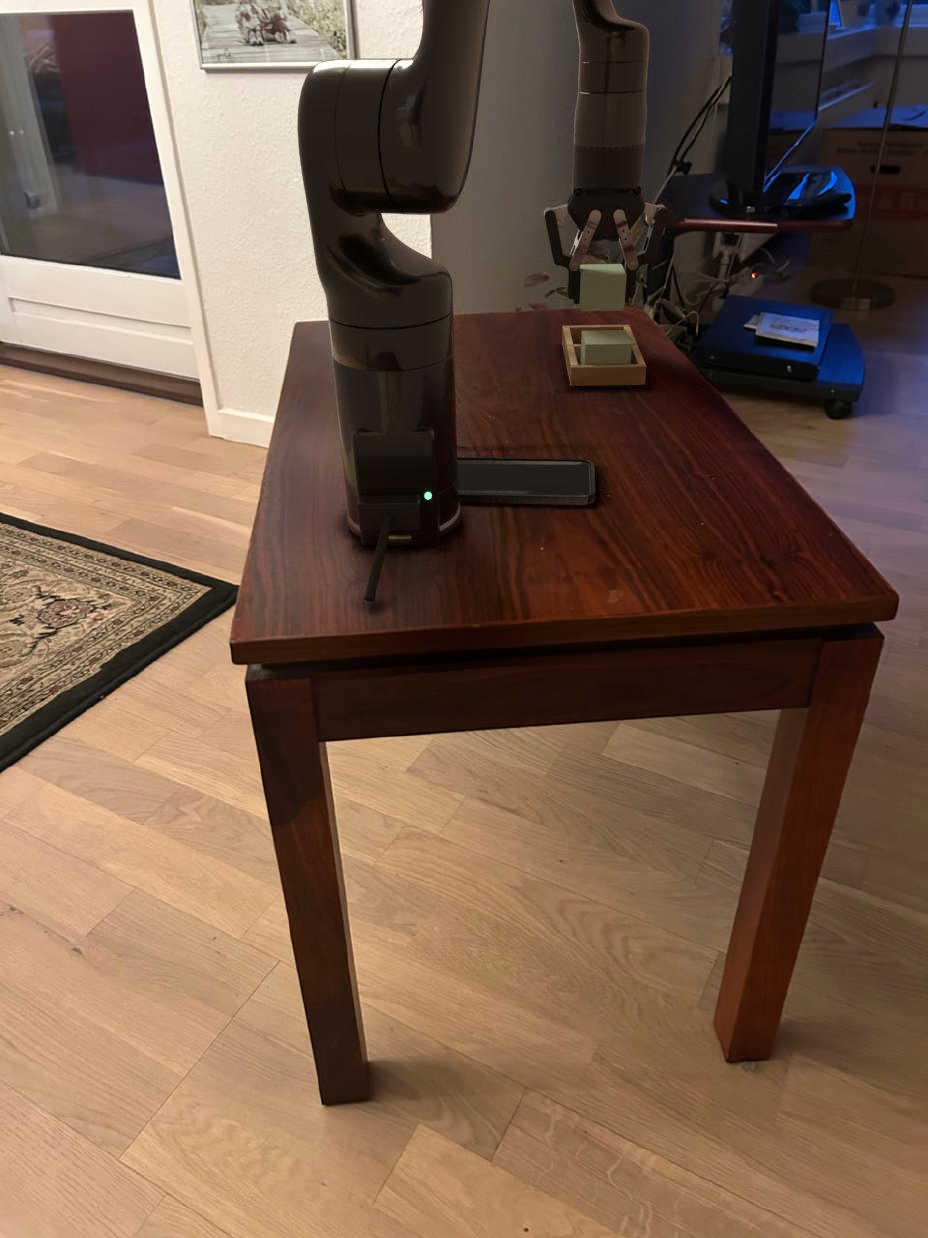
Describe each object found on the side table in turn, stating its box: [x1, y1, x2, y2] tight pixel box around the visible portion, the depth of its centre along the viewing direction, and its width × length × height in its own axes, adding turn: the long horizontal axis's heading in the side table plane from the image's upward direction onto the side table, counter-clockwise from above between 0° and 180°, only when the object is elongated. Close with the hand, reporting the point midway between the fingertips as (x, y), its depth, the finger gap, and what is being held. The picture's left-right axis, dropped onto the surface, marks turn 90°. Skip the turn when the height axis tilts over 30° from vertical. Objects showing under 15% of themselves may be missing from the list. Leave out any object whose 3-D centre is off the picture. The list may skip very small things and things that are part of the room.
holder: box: [561, 324, 647, 387], centre depth 109 cm, size 15×8×3 cm, turn 179°
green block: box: [577, 263, 627, 312], centre depth 109 cm, size 5×5×4 cm
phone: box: [457, 456, 596, 506], centre depth 84 cm, size 8×1×15 cm
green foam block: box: [580, 330, 632, 365], centre depth 105 cm, size 5×5×4 cm
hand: (600, 301), depth 109 cm, fingers closed on green block, 5 cm apart
